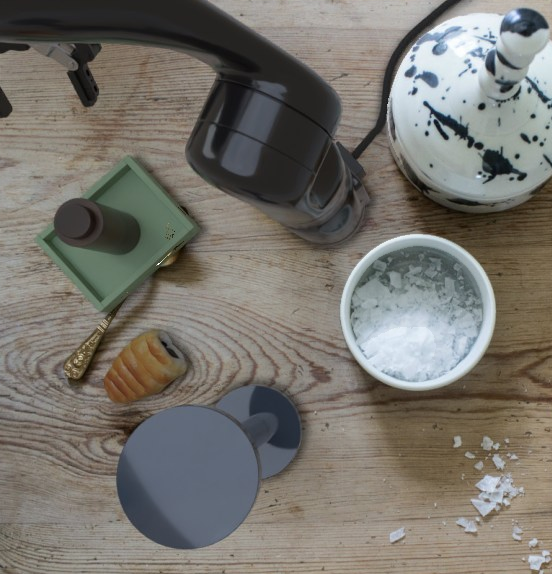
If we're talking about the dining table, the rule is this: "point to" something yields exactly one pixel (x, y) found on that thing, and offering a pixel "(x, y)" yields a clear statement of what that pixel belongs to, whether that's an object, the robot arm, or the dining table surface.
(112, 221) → the pepper mill
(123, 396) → the pastry
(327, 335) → the dining table surface
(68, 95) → the dining table surface
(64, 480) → the dining table surface
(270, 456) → the stand
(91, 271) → the tray
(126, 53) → the dining table surface
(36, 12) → the robot arm
